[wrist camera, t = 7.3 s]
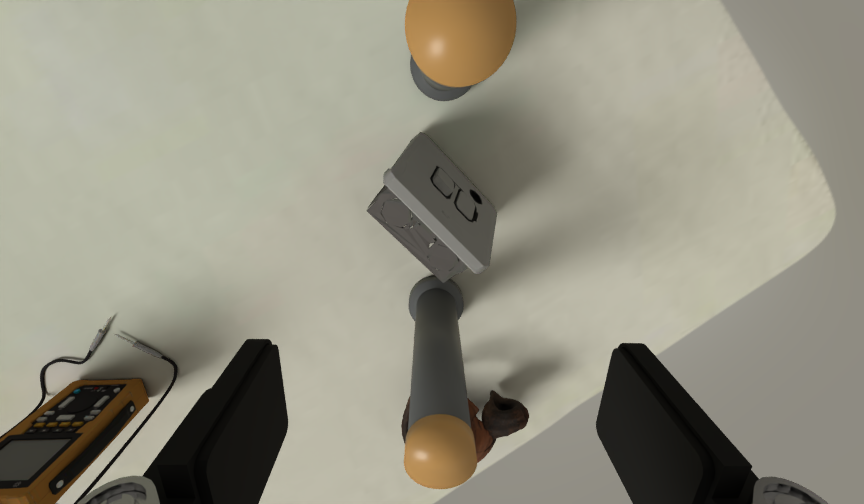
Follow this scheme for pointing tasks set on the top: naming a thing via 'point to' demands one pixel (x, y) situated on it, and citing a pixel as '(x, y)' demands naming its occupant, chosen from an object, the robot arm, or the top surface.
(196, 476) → the robot arm
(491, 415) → the brown curved hollow piece
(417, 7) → the post near
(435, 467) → the post far
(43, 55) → the top surface
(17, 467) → the multimeter
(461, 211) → the electrical switch
